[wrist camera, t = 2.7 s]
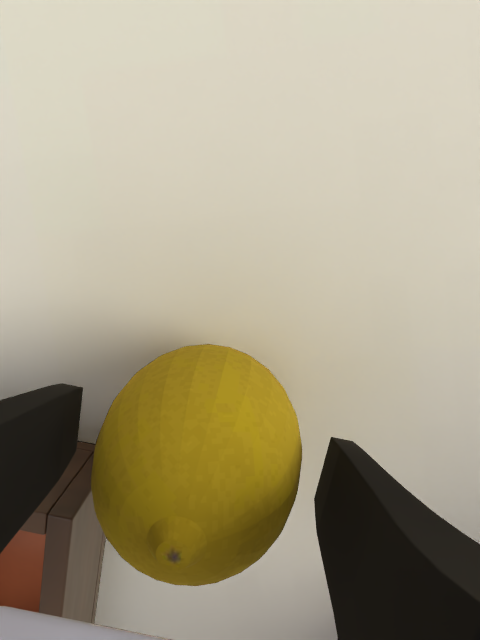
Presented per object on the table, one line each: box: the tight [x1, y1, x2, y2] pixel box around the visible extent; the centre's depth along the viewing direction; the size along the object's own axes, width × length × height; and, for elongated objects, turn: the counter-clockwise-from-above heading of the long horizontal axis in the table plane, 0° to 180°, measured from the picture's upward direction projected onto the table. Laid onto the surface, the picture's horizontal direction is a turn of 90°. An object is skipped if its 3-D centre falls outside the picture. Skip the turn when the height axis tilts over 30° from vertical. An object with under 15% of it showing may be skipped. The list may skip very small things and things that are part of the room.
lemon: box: [91, 344, 302, 586], centre depth 12 cm, size 6×6×8 cm
